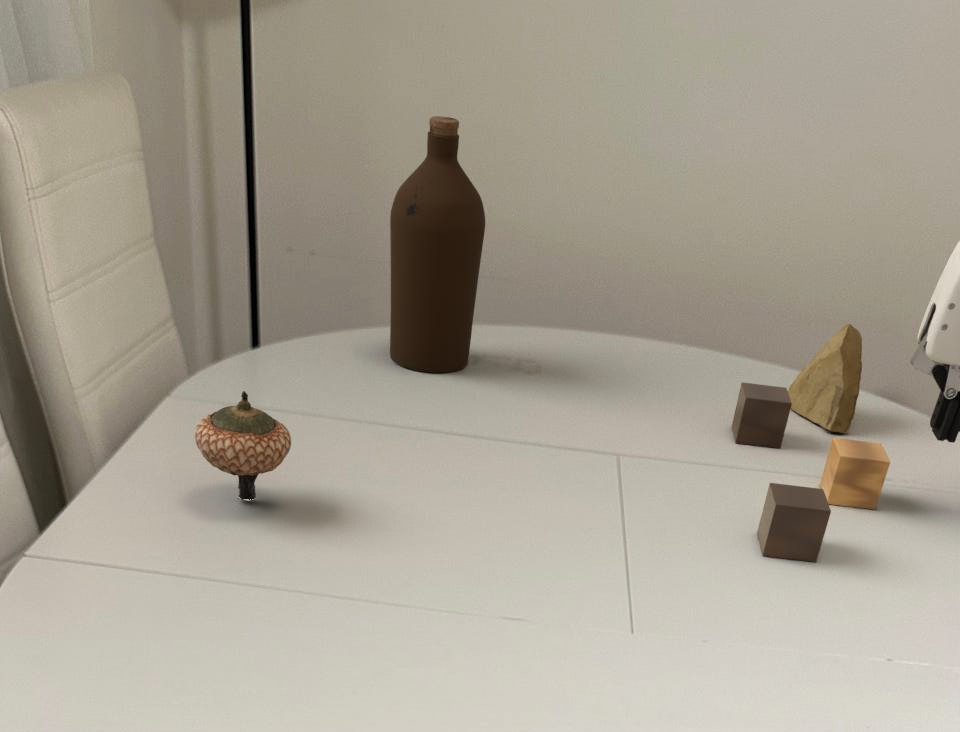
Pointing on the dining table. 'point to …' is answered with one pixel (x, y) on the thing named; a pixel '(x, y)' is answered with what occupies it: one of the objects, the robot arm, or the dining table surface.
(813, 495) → the walnut block
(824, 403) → the rock
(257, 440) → the acorn
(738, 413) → the walnut block
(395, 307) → the olive oil
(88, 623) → the dining table surface
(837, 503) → the maple block
